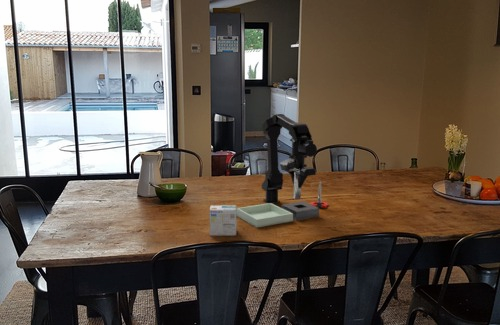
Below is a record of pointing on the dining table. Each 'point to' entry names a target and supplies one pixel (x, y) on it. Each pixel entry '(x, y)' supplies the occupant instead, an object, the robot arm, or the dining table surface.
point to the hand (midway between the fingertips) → (297, 187)
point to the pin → (296, 187)
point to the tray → (264, 215)
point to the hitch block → (301, 210)
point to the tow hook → (319, 200)
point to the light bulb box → (223, 220)
